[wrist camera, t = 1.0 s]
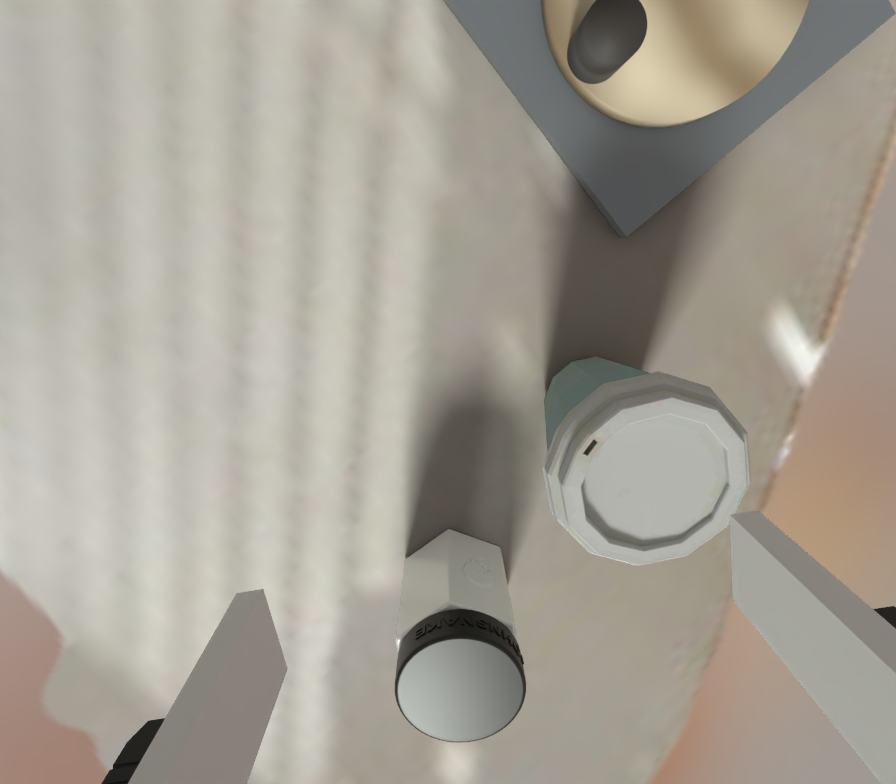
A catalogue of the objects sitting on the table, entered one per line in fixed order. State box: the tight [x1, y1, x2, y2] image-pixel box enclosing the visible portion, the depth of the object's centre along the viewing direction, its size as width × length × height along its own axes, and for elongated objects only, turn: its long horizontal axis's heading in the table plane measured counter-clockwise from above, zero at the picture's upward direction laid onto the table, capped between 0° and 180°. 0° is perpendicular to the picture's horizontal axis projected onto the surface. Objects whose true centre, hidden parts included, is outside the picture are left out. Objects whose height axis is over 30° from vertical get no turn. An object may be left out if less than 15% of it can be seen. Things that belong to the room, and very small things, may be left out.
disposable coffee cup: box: [542, 356, 751, 566], centre depth 34 cm, size 11×11×15 cm
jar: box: [395, 529, 526, 742], centre depth 39 cm, size 9×8×12 cm
